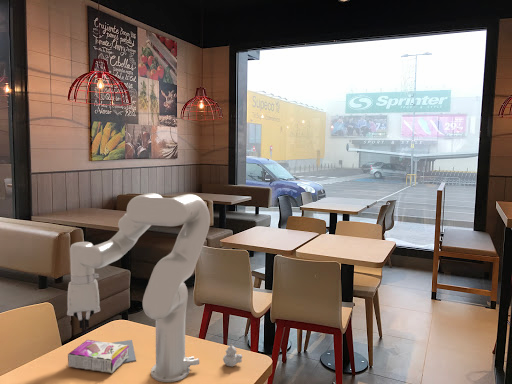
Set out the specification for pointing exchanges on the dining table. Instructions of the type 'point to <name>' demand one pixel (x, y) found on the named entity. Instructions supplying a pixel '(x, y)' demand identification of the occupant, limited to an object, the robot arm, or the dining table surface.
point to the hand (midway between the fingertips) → (84, 329)
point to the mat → (131, 350)
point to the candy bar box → (98, 356)
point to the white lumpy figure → (232, 356)
